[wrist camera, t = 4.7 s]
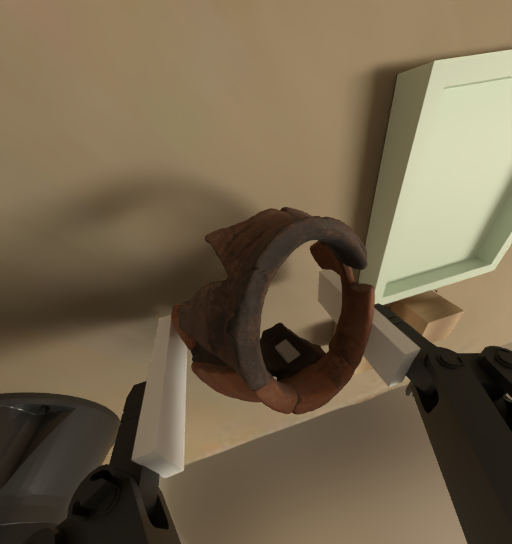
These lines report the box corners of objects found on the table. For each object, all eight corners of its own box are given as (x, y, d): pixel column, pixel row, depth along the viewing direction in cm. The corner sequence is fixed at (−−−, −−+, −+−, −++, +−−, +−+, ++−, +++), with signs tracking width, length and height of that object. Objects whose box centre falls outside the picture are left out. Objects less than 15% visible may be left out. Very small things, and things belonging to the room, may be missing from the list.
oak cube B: (385, 320, 24) (415, 348, 20) (393, 296, 21) (428, 323, 18) (413, 311, 24) (447, 337, 21) (424, 286, 22) (464, 310, 19)
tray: (355, 295, 20) (370, 309, 18) (397, 73, 11) (434, 60, 9) (471, 260, 21) (493, 270, 20) (591, 45, 12) (652, 29, 11)
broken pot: (119, 278, 10) (101, 329, 3) (246, 196, 14) (359, 142, 7) (236, 400, 15) (328, 524, 8) (308, 314, 19) (413, 350, 12)
